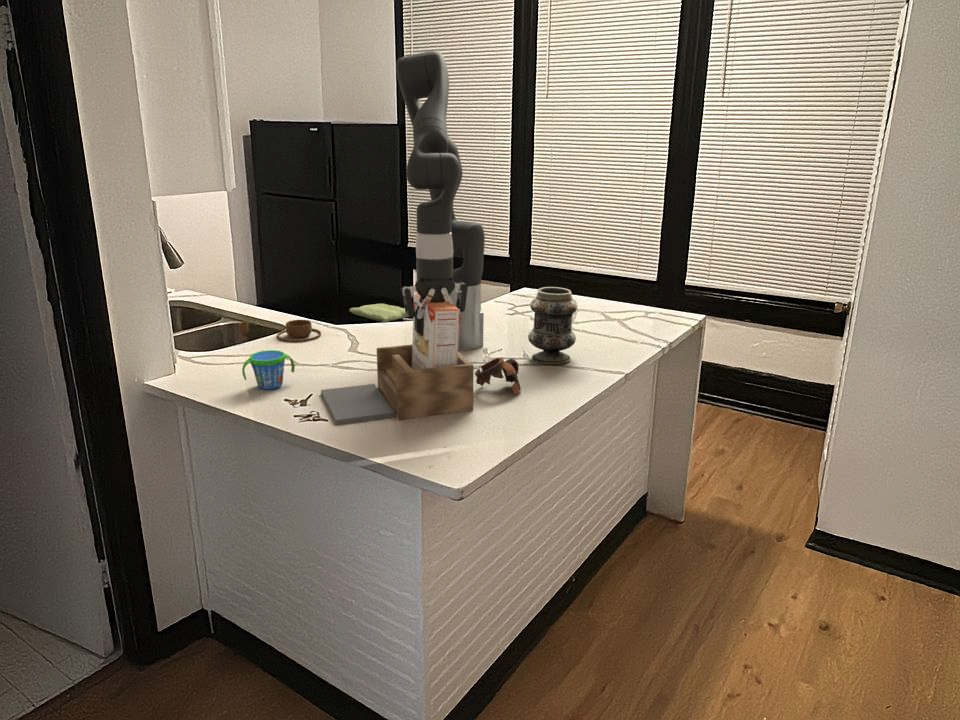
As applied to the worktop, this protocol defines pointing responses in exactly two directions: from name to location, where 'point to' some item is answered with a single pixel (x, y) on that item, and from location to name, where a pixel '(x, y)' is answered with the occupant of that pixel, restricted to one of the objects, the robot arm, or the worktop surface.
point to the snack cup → (268, 368)
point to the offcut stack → (397, 367)
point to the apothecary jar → (552, 325)
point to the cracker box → (436, 336)
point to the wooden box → (425, 386)
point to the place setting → (289, 331)
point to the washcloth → (380, 312)
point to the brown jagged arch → (499, 372)
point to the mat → (356, 404)
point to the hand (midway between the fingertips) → (435, 332)
